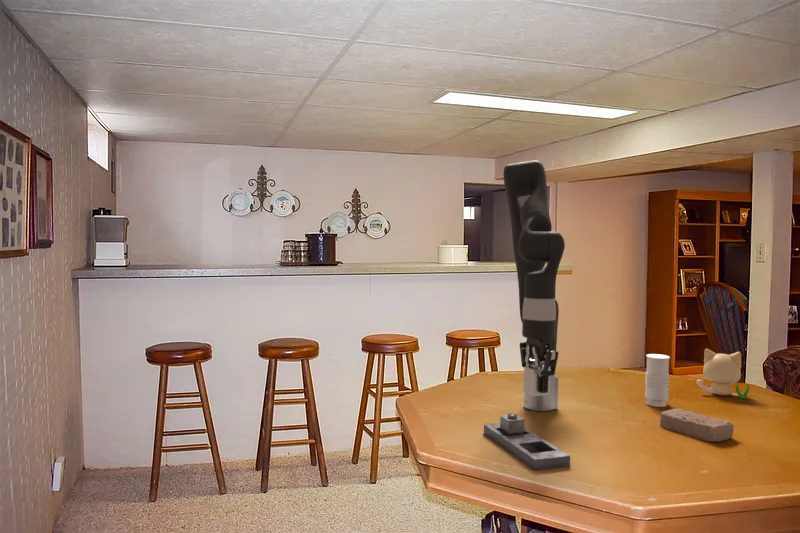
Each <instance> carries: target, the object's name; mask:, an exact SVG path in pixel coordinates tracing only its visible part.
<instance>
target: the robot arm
mask: <svg viewBox="0 0 800 533" xmlns="http://www.w3.org/2000/svg"><path fill="white" fill-rule="evenodd" d="M502 174H503V184H504V189H505V194H506V199H507V205H508V210H509V211H508V212H509V217H510V218H509V219H510V225H511V234H512V246H513V253H514V254H513V255H514V260H515V267H516V273H517V282H518V284H517V285H518V300H519V316H520V317H519V318H520V321H521V323H522V324H521V325H522V328H521V330H522V331H521V332H522V334H521V335H522V337H524V338H525V339H526V341H523V342H519V351H520V361H521V362H520V363H521V366H522V368H524V366H532V364H535V366H536V367H537V368H538V375H539V377H538V392H540V393H547V392H548V377H549V376H551V395H544V396H532V395H530V394H528V393H526V392H524V391H523V407H524V408H525V409H527V410H531V411H535V412H550V411H553V410H555V409H558V408H559V377H558V376H557V373H556V372H557V371H556V370H557V363H558V358H559V351H558V350H557V344H558V327H559V326H558V325H559V316H560V315H559V311H560V308H559V302H558V301H557V300H556V285H557V284H556V282H557V277H558V276H557V275H558V270H559V267H560V263H561V261H562V258H563V255H564V251H565V249H566V248H565V245H566V244H565V239H564V237H563V234H561V233H560V232H557V231H552V230H553V229H552V226H553V225H552V220H551V217H550V213H549V208H548V207H549V204H548V185H547V175H546V171H545V167H544V164H543V163H542V162H541V161H540V160H527V161H521V162H520V161H519V162H515V163H510V164H509V163H508V164H506V165H505V166H504V168H503V173H502ZM521 197H528V198H527V199H526V200H525V201H524V202H523V205H522V204H521V202H520V200H519V198H521ZM542 366H544V367H543V371H542ZM550 369H551V370H550Z"/></svg>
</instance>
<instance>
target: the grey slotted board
mask: <svg viewBox="0 0 800 533" xmlns="http://www.w3.org/2000/svg"><path fill="white" fill-rule="evenodd" d="M483 434H484V435H485V436H487V437H489V438H490V439H491V440H492V441H494V443H497V444H498V445H500V447H502V448H503V449H504V450H506V451H508V453H510V454H512V455H513V456H514V457H516V458H517V459H518V460H520V461H521V462H523V463H524V464H525V465H526V466H528V467H530V468H531V469H532V470H534V471H540V470H548V469H549V470H550V469H557V468H565V467H571V455H570V454H568V453H566V452H565V451H564V450H562V449H561V448H559V447H557V446H555V445H554V444H552V443H551V442H549V441H547V440H546V439H544V438H542V437H541V436H540V435H537V434H536V433H534V432H533V431H531V430H529V429H528V428H526V427H525V430H524V435H516V436H505V435H504V434H502V433H501V432H500V422H495V423H484V424H483Z"/></svg>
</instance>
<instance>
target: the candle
mask: <svg viewBox="0 0 800 533" xmlns="http://www.w3.org/2000/svg"><path fill="white" fill-rule="evenodd" d="M645 355H646V356H645V357H646V371H645V377H644V378H645V381H644V382H645V384H644V386H645V394H644V398H646V399H647V400H646V405H649V406H651V407H656V408H657V407H658V408H659V407H660V408H665V407H667V406H668V405H667V402H666V401H668V400H669V399H670V398H669V389H670V376H671V375H670V374H669V370H670V366H669V364H670V359H671V356H669V355H666V354H659V353H648V354H645Z"/></svg>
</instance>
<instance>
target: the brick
mask: <svg viewBox="0 0 800 533" xmlns="http://www.w3.org/2000/svg"><path fill="white" fill-rule="evenodd" d="M659 426H660V427H663V428H665V429H668V430H671V429H672V431H674V430H675V431H674V432H678V433H680V432H681V434H683V435H686V434H687V435H688V436H691V437H693V438H696V439H699V440H702V441H707V442H713V443H715V442H716V443H717V442H722V441H727V440H729V439H732V438H733V435H734V426H735V425H734V423H733V422H730V421H728V420H725V419H721V418H717V417H709V416H707V415H704V414H699V413H697V412H696V411H695V412H694V411H690V410H686V409H683V408H672V409H667V410H665V411H661V412H660V417H659Z"/></svg>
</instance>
